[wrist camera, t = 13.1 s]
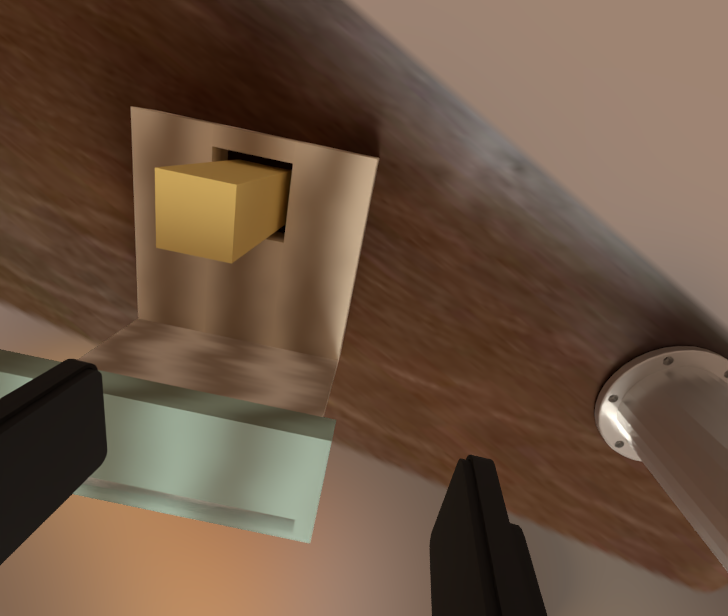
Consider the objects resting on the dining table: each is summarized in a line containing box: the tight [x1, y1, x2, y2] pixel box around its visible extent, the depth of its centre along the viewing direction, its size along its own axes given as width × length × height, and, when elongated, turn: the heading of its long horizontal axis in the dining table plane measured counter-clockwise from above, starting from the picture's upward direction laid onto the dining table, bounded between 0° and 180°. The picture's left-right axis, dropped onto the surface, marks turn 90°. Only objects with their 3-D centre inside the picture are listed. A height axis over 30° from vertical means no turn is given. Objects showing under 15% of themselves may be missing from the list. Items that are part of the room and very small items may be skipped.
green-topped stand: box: [0, 106, 379, 543], centre depth 26 cm, size 20×18×19 cm
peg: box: [155, 159, 292, 264], centre depth 27 cm, size 4×4×12 cm
